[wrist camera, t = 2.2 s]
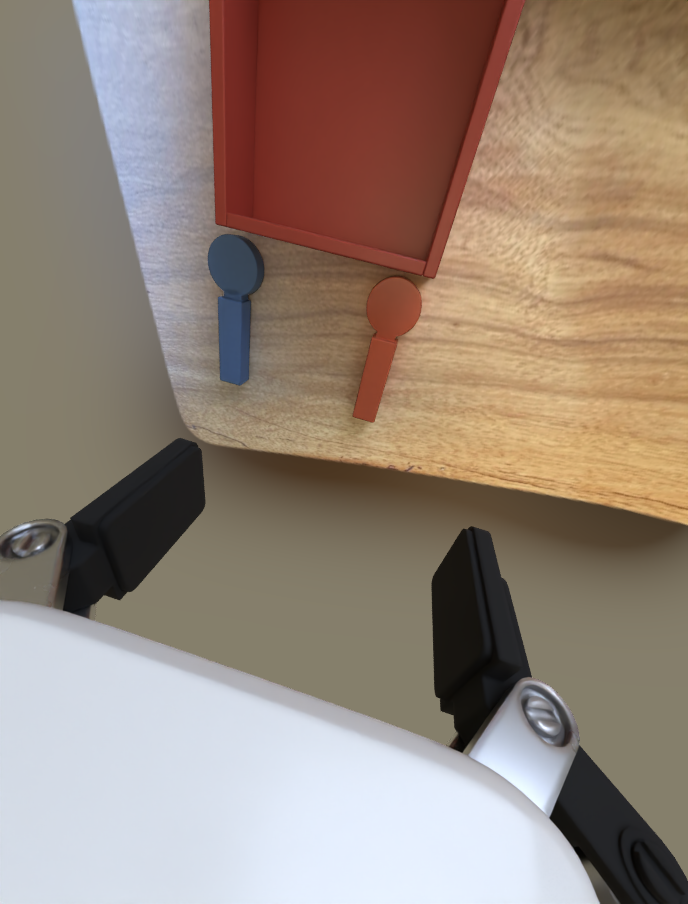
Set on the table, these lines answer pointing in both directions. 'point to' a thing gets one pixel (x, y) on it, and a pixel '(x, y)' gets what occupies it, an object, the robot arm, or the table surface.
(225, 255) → the blue spoon
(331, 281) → the table surface
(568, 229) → the table surface
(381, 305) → the red spoon
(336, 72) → the red bin
